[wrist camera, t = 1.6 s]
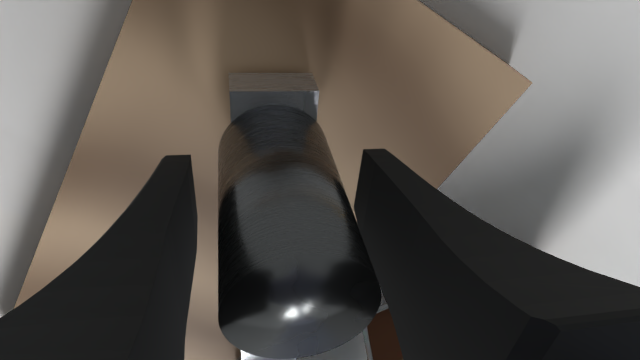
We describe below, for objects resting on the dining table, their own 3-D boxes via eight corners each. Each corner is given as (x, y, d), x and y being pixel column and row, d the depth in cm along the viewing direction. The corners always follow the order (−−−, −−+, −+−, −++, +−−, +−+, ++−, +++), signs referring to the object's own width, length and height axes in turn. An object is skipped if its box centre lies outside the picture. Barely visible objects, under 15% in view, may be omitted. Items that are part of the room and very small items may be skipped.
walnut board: (253, 364, 25) (255, 390, 24) (9, 323, 19) (-4, 354, 18) (509, 65, 16) (532, 83, 15) (195, -159, 11) (193, -158, 10)
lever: (297, 374, 23) (321, 535, 18) (234, 382, 22) (239, 552, 17) (325, 72, 13) (398, 231, 8) (214, 72, 12) (211, 244, 7)
